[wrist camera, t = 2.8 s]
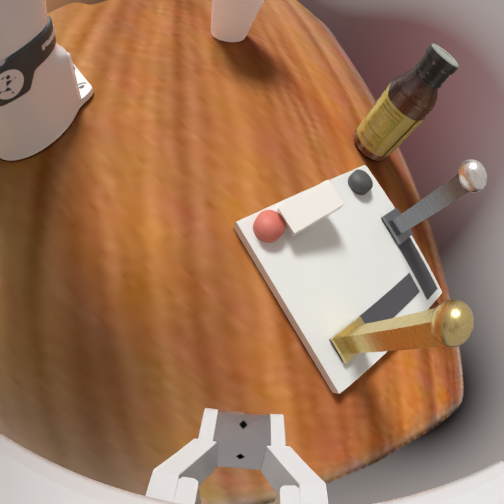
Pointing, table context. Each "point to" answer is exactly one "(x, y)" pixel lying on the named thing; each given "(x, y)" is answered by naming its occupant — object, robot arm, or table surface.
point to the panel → (340, 272)
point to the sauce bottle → (404, 104)
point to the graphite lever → (437, 200)
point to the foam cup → (233, 18)
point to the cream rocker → (310, 207)
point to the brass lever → (407, 331)
